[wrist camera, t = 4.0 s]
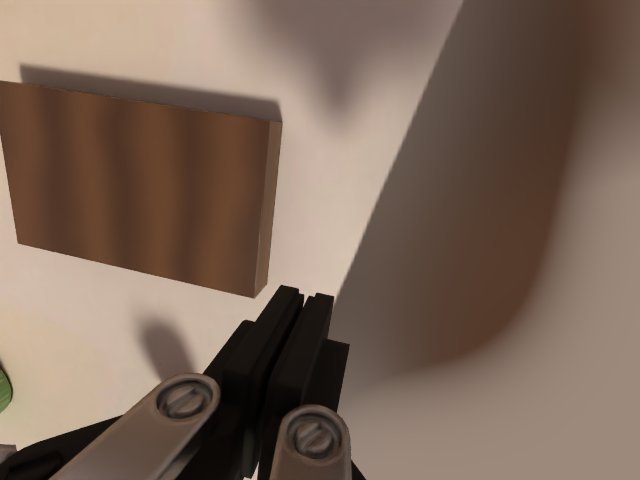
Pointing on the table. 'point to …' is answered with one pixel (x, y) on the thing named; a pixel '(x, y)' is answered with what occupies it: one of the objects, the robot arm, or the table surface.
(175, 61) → the table surface
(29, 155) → the cutting board
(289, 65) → the table surface
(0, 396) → the ramekin
